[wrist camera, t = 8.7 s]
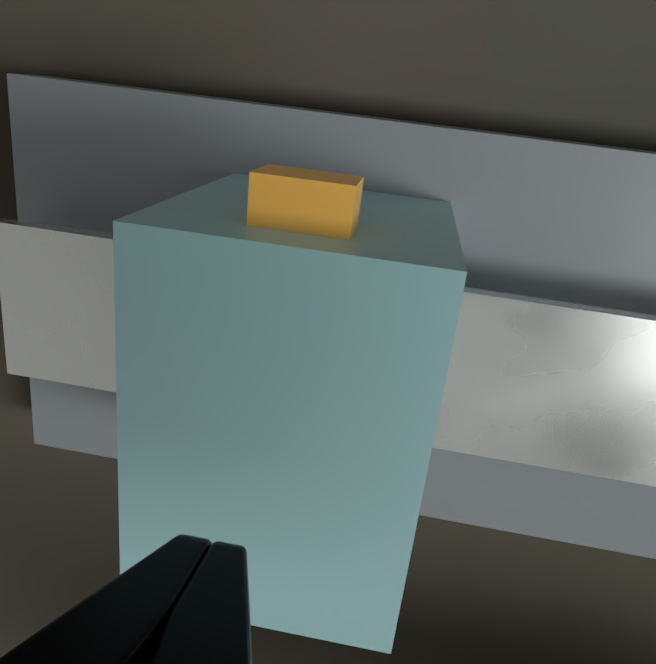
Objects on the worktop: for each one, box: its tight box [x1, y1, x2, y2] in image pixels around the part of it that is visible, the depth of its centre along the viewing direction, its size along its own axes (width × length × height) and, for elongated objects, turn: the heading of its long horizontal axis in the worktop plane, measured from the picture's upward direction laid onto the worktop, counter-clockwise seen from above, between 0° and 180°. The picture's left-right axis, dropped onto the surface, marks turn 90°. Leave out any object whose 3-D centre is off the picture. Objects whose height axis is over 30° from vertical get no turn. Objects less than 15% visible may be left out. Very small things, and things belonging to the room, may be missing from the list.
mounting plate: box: [7, 73, 656, 559], centre depth 16 cm, size 20×10×2 cm, turn 84°
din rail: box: [0, 218, 656, 487], centre depth 14 cm, size 19×4×2 cm, turn 84°
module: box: [113, 164, 467, 654], centre depth 12 cm, size 5×8×6 cm, turn 174°
